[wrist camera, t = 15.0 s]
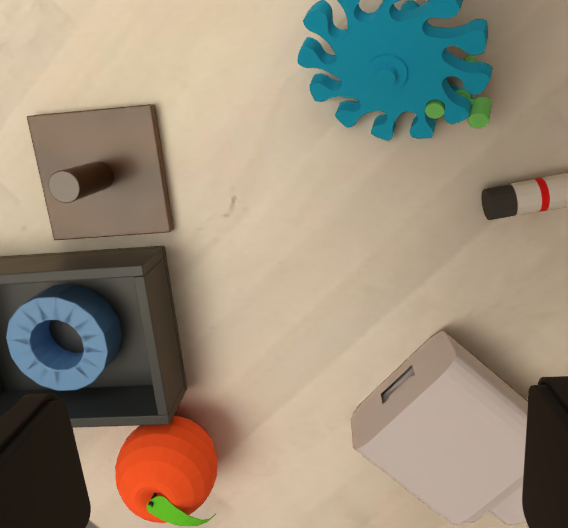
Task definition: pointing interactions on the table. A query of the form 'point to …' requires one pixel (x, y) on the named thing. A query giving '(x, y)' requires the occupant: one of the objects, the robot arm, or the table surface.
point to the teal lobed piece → (399, 65)
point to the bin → (134, 326)
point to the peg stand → (102, 172)
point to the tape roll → (47, 353)
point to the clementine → (167, 471)
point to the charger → (448, 433)
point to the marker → (526, 197)
